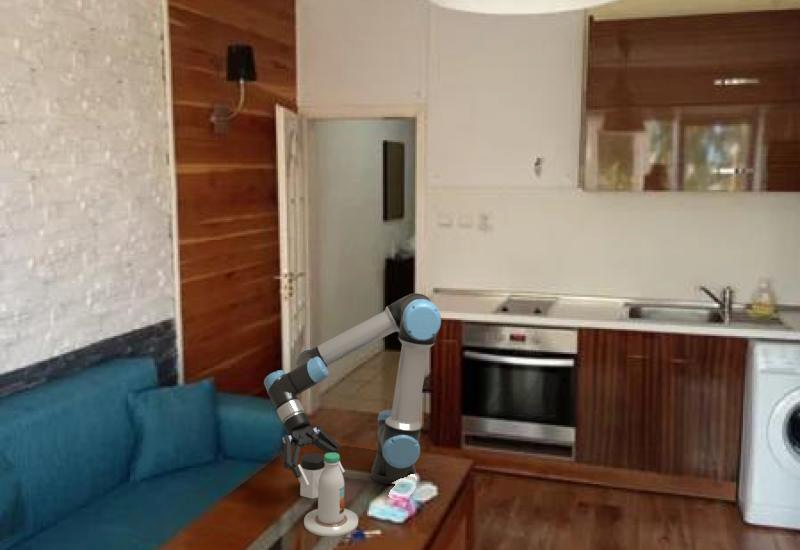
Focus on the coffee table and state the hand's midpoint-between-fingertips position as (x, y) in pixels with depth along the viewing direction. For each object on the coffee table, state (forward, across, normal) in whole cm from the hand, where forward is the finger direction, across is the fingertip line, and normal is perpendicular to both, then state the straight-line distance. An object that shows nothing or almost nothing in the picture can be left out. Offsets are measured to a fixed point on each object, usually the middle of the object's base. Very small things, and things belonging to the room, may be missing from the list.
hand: (324, 480), depth 227 cm
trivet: (+11, 0, -7) cm, 13 cm away
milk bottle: (+10, 0, -6) cm, 12 cm away
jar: (-2, -9, -21) cm, 23 cm away
